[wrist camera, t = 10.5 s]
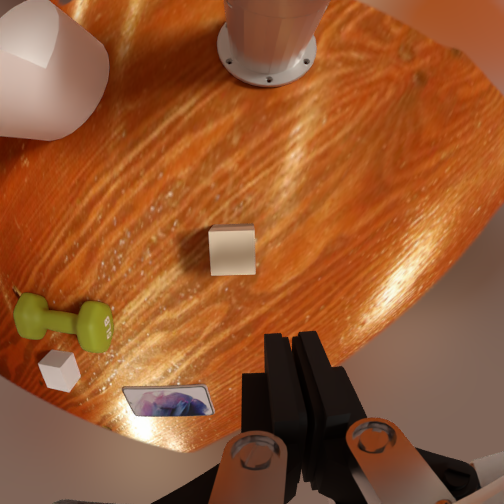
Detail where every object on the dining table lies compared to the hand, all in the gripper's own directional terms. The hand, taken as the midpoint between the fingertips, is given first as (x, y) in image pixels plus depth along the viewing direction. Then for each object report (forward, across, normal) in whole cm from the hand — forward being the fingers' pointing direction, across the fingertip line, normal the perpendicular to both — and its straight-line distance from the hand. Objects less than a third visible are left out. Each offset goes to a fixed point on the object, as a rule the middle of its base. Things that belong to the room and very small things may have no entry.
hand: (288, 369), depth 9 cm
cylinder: (+29, +28, -23) cm, 47 cm away
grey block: (+29, +34, +22) cm, 50 cm away
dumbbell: (+30, +29, +12) cm, 43 cm away
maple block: (+29, +3, +2) cm, 29 cm away
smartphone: (+30, +16, +28) cm, 44 cm away
